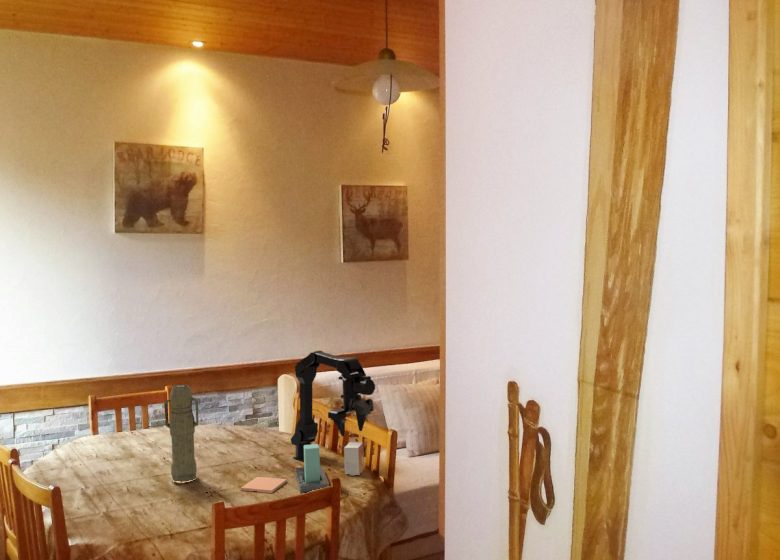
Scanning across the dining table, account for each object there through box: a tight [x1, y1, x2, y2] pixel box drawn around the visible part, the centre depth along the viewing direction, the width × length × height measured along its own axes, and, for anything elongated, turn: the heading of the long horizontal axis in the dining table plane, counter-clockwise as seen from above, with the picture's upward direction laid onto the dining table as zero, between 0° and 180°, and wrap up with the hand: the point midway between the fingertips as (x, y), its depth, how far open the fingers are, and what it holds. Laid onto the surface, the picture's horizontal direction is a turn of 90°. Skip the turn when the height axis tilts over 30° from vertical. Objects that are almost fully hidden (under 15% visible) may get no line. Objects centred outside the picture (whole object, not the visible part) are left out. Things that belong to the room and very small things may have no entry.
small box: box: [343, 441, 365, 476], centre depth 263 cm, size 8×6×10 cm
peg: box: [303, 443, 321, 482], centre depth 249 cm, size 5×5×14 cm
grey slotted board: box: [294, 465, 330, 494], centre depth 253 cm, size 21×10×2 cm, turn 13°
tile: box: [240, 476, 288, 494], centre depth 250 cm, size 12×12×1 cm
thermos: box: [163, 384, 199, 482], centre depth 259 cm, size 9×12×35 cm
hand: (351, 433), depth 263 cm, fingers open, 9 cm apart
